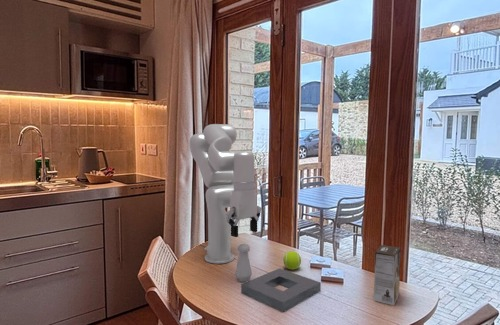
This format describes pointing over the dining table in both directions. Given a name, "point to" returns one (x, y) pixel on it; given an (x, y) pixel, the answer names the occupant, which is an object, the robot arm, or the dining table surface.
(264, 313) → the dining table surface
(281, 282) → the grey square frame
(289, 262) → the tennis ball
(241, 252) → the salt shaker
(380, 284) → the coffee box
